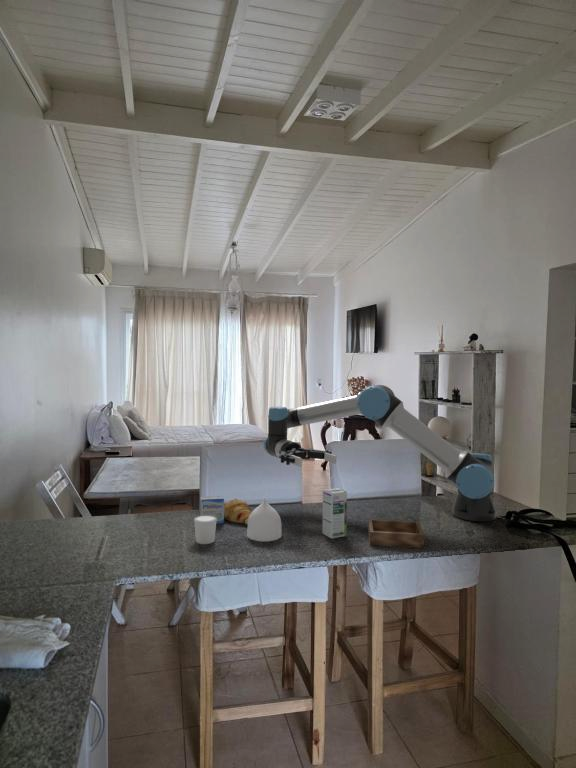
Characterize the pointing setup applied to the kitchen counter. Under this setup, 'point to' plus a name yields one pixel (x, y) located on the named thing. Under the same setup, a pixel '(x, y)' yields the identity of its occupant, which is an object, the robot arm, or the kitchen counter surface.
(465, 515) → the robot arm
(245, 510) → the croissant
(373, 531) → the serving tray
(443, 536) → the kitchen counter surface
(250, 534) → the teardrop
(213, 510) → the medicine box
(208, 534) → the shot glass
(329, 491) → the syrup box
